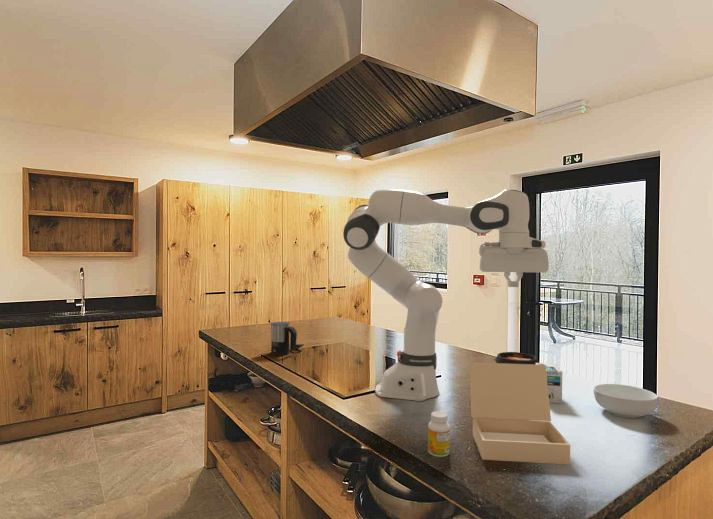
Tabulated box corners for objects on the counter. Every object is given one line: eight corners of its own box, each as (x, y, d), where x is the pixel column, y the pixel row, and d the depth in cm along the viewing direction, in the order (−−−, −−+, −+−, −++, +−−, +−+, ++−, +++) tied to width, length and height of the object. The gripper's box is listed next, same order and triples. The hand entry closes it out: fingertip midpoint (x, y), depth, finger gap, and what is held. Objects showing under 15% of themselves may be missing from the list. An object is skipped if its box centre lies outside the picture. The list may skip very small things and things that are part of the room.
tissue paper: (489, 456, 104) (489, 450, 104) (481, 437, 115) (481, 431, 115) (558, 460, 103) (558, 454, 103) (543, 440, 114) (543, 435, 114)
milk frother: (267, 354, 206) (267, 323, 206) (279, 347, 222) (280, 319, 221) (295, 356, 203) (295, 325, 203) (306, 349, 219) (306, 320, 218)
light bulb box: (562, 404, 143) (563, 371, 143) (540, 402, 144) (541, 370, 144) (554, 393, 153) (555, 363, 153) (534, 392, 155) (534, 362, 154)
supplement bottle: (425, 448, 110) (425, 410, 109) (446, 447, 110) (446, 409, 110) (430, 458, 104) (431, 418, 104) (452, 457, 105) (453, 418, 104)
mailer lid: (469, 362, 122) (464, 365, 131) (471, 417, 117) (466, 416, 126) (545, 364, 120) (535, 367, 129) (551, 421, 115) (539, 420, 124)
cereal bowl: (647, 408, 140) (648, 386, 140) (665, 427, 124) (666, 403, 124) (589, 401, 145) (589, 380, 145) (598, 419, 130) (599, 396, 130)
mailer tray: (482, 461, 103) (482, 440, 103) (472, 436, 117) (472, 417, 117) (569, 466, 101) (570, 444, 101) (549, 440, 115) (549, 421, 115)
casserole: (506, 366, 189) (506, 347, 189) (550, 374, 177) (551, 354, 177) (481, 378, 171) (481, 357, 170) (529, 389, 158) (529, 366, 158)
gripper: (481, 242, 132) (480, 287, 133) (551, 242, 130) (550, 288, 130) (477, 242, 139) (477, 285, 139) (544, 242, 136) (543, 286, 137)
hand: (513, 286), depth 135 cm, fingers closed
